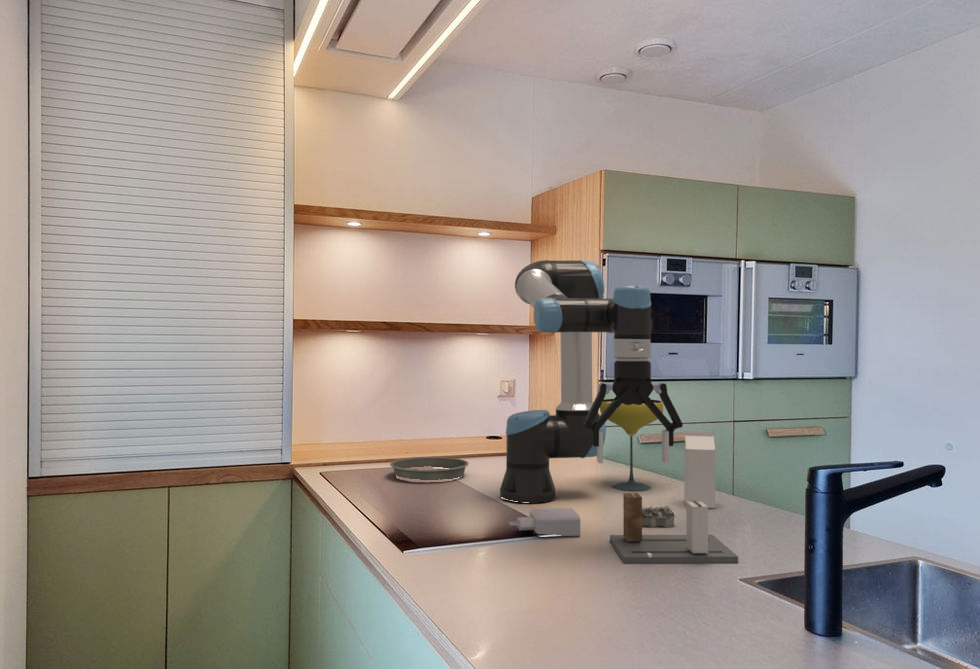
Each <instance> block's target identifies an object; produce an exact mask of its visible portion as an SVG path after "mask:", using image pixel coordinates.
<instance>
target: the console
mask: <svg viewBox="0 0 980 669" xmlns="http://www.w3.org/2000/svg"><path fill="white" fill-rule="evenodd" d="M609 542H610V543H611V544H612V547H613V548H614V549H615V551H616V553H617V554H618V555H619V557H620V559H621V561H622V562H623V564H739V556H738V555H737V554H736V553H735V552H733V550H731V549H730V548H729V547H728V546H727V545H725V544H724V543H723V542H722V541H721V540H720V539H718V537H716V536H715V535H714V534H708V553H692V552H691V551H690V550H689V549H688V548H687V534H642V541H627V540H626V539H625V537H624V534H610V535H609Z"/></svg>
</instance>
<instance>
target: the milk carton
mask: <svg viewBox="0 0 980 669" xmlns="http://www.w3.org/2000/svg"><path fill="white" fill-rule="evenodd" d="M683 446H684V448H683V451H684V452H683V453H684V454H683V456H684V457H683V458H684V459H683V461H684V462H683V467H684V468H683V469H684V470H683V473H684V474H683V475H684V476H683V478H684V479H683V482H684V483H683V484H684V485H683V486H684V490H683V492H684V494H683V497H684V500H683V501H684V503H685V504H684V505H686V502H693V500H695V501H697V502H702V503H704V504H705V505H706V506H708V509H716V445H715V435H714V431H688V430H687V431H684V444H683Z"/></svg>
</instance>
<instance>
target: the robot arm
mask: <svg viewBox="0 0 980 669" xmlns="http://www.w3.org/2000/svg"><path fill="white" fill-rule="evenodd" d="M514 289H515V293H516V296H518V298H520V300H522V302H524V303H525V304H528V305H530V306H531V307H532V308H533V323H534V327H535V329H536V330H537V332H540V333H541V332H542V333H550V334H555V333H560V392H561V393H560V403H559V404H558V405H557V406H556V408H555V415H554V414H553V415H552V414H551V413H550V411H549V410H547V409H537V410H536V409H533V410H532V409H531V410H525V411H520V412H516V413H513V414H511V415H509V416H508V418H507V420H506V429H505V435H506V437H505V438H506V439H505V440H506V442H505V444H506V450H505V451H506V457H505V458H506V460H505V461H506V465H505V466H506V467H505V468H506V470H505V472H504V475H503V480H502V482H501V486H500V487H499V491H500V492H499V497H500V496H501V497H503V498H505V499H508V500H513V501H518V502H529V503H528V504H539V503H538V502H544V503H549V502H551V501H554V500H555V499H556V496H557V495H556V494H557V492H556V491H557V490H556V486H555V483H554V481H553V477H552V474H551V470H550V459H573V458H575V459H576V458H581V459H585V458H594V457H597V458H596V460H597V462H598V464H604V445H605V440H606V433H607V432H606V431H607V426H606V422H607V421H609V420H608V419H609V417H610V416H611V415H612V414H613V413H614V411H615V410H616V409H617V408H618V407H619V406H620V405H621V404H622V403H623V404H625V405H632V404H636V405H641V404H643V403H644V404H645V405H646V406H647V407H648V408H649V409H650V410H651V412H652V413H653V414H654V415H655V416H656V417H657V420H658V421H659V422H660V423H661V424H662V426H663V427H664V428H665V429H661V461H662V462H663V463H664V464H670V447H673V446H674V444H675V443H674V442H675V441H674V437H675V436H674V432H675V430H677V429H680V428H681V429H682V428H683V426H684V424H683V422H682V419H681V417H680V416H679V414H678V412H677V410H676V407H675V406H674V404H673V402H672V400H671V399H670V396H669V393H668V386H667V384H666V383H664V382H659V383H656V384H655V383H654V384H653V383H652V368H651V367H652V362H650V360H648V359H650V358H651V357H652V355H651V354H652V353H651V351H652V350H651V345H652V344H651V337H652V336H651V335H652V332H651V331H652V330H651V329H652V328H651V327H652V326H651V325H652V324H651V319H652V318H651V317H652V315H651V313H652V311H651V306H652V301H651V291H650V288H649V287H648V286H646V285H636V284H635V285H619V286H616V287H615V288H614V290H613V298H604V297H605V296H604V295H605V282H604V278H603V272H602V271H601V269H600V267H599V264H597V263H596V262H594V261H590V260H589V261H588V260H582V259H580V260H548V259H545V260H544V259H543V260H538V261H535V262H532V263H529V264H528V265H526V266H524V267H523V268H522V269H520V271H519V272H518V274H517V275H516V278H515V282H514ZM593 333H608V334H613V339H614V340H613V358H615V359H616V361H614V362H613V383H612V384H608V383H603V382H600V383H599V384H598V389H597V390H598V391H597V394H596V396H595V398H594V399H593V340H592V339H593V337H592V336H593ZM611 391H612V392H613V394H614V395H615V397H614V398H612V399H613V400H612V402H611V404H610V405H609V406H608V407H607V408H606V410H605V411H604V412H603V413H602V414H601V413H599V411H600V406H601V404H602V402H603V400H605V398H606V395H608V394H609V393H610V392H611ZM653 391H655V393H656V394H657V395H658V396H659V398H660V401H662V402H663V407H664V409H665V410H666V411H667V414H668V416H669V418H670V419H671V422H670V420H669V419H668V418H667V417H666V416H665V414H663V413H664V412H663V413H662V412H661V411H660V410H659V409H658V407H657V406H656V405H655V404H654V402H653V401H652V400H653V399H651V397H650V395H651V394H652V392H653ZM593 400H594V401H593ZM548 501H549V502H548Z"/></svg>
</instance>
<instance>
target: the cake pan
mask: <svg viewBox="0 0 980 669" xmlns="http://www.w3.org/2000/svg"><path fill="white" fill-rule="evenodd" d="M389 465H390V466H391V468H393V473H394V476H395V475H397V476H399V477H403V478H409V479H420V480H439V479H440V480H441V479H442V480H443V479H453V478H458V477H461V476H462V475H463V474H465V470H466V467H468V466H469V461H468V460H465V459H461V458H455V457H446V456H418V457H417V456H415V457H408V458H401V459H397V460H394V461H392V462H390V464H389ZM424 466H431V467H443V468H449V469H436V470H418V469H406V468H411V467H424ZM463 476H464V475H463Z"/></svg>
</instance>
